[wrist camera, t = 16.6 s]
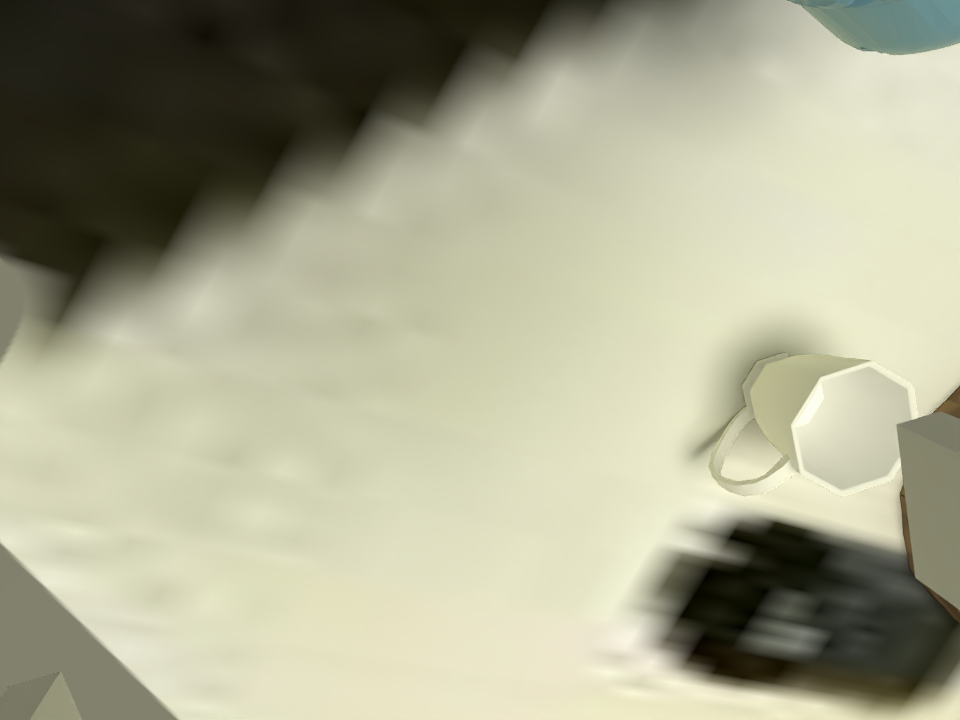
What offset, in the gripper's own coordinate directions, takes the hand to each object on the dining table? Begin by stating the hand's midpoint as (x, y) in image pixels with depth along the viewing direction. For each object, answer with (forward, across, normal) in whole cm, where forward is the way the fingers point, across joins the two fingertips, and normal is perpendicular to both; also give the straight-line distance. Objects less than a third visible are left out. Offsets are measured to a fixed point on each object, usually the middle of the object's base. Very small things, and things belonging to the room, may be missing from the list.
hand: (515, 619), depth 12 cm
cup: (+32, +18, -11) cm, 38 cm away
